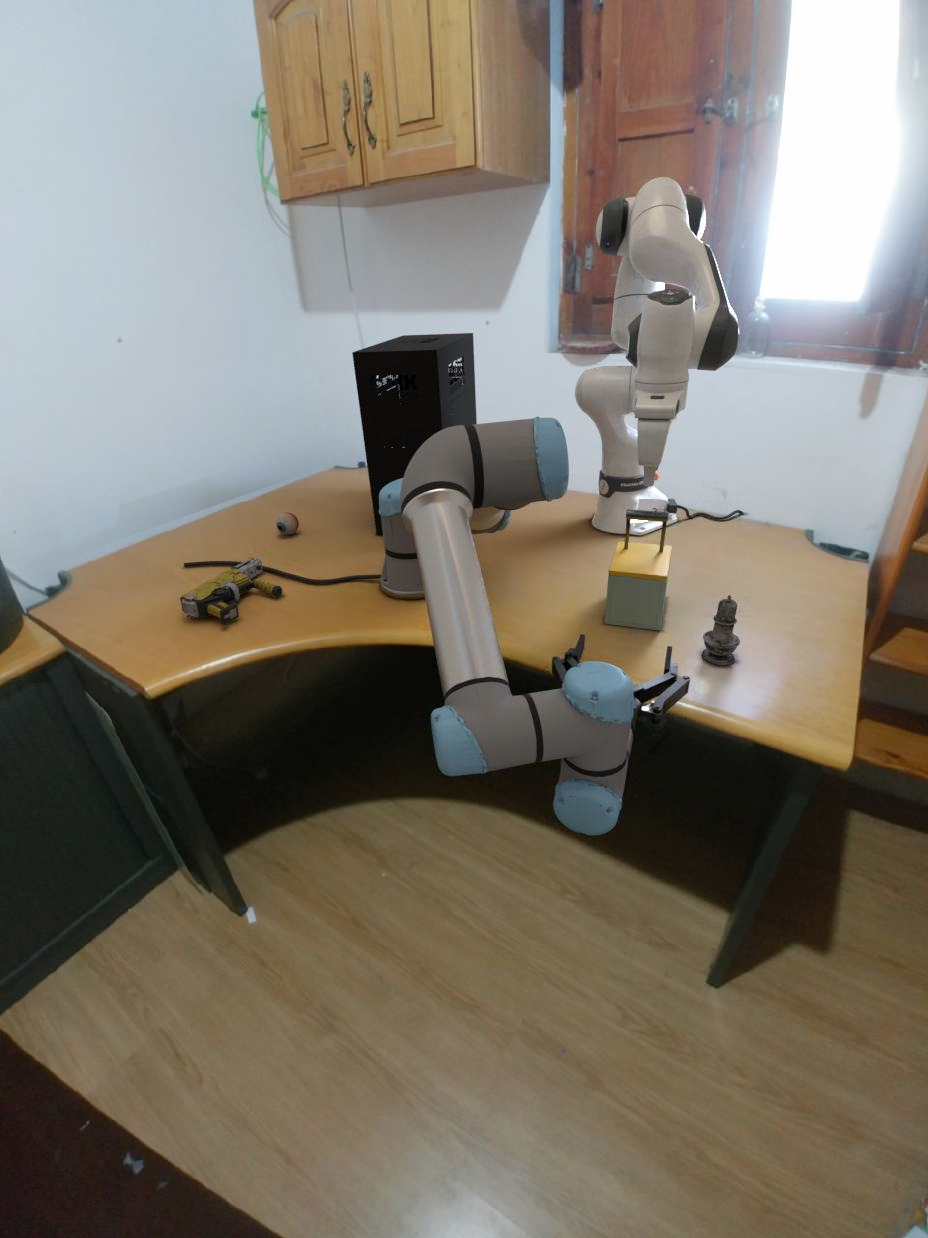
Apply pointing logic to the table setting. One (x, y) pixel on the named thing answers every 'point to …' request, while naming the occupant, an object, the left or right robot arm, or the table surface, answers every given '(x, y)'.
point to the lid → (642, 551)
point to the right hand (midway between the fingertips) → (650, 477)
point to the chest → (635, 602)
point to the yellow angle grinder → (226, 592)
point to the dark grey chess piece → (722, 635)
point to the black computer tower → (411, 399)
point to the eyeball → (287, 523)
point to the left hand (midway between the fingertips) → (624, 647)
